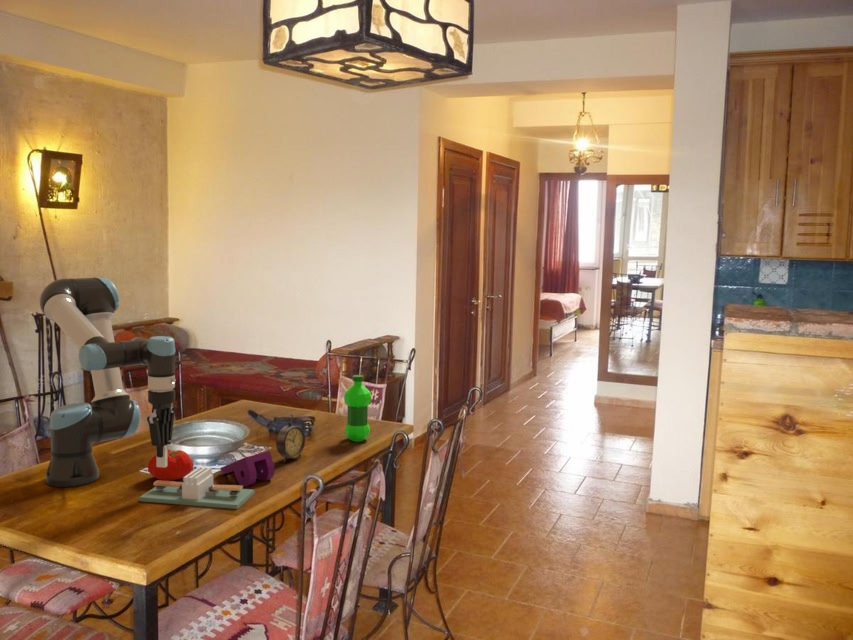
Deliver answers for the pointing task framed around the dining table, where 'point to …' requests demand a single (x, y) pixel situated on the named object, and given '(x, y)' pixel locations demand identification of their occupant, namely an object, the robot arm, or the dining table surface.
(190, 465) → the tomato
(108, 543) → the dining table surface
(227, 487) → the strap
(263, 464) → the mounting bracket
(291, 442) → the alarm clock
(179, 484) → the strap
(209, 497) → the board
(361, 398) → the plastic bottle
